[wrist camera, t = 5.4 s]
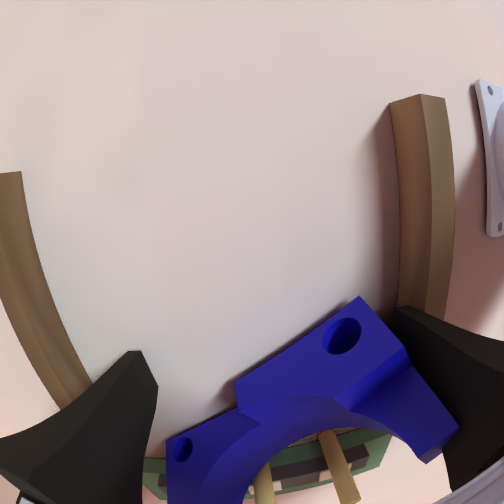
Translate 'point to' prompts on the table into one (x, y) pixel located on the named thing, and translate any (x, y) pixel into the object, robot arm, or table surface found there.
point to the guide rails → (411, 245)
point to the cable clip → (309, 407)
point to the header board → (302, 466)
